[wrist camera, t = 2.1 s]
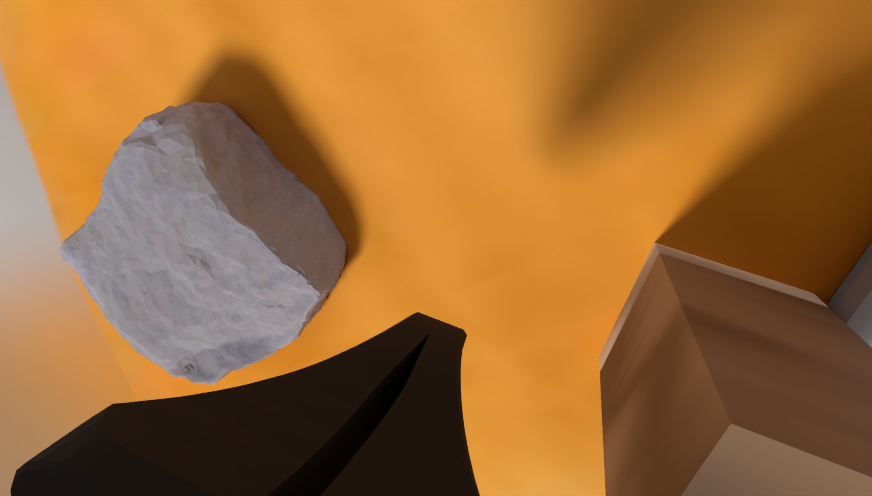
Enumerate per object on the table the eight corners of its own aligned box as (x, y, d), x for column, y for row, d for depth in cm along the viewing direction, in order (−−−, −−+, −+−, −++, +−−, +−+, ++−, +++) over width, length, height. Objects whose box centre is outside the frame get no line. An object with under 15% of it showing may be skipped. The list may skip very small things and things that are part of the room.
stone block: (389, 240, 21) (212, 71, 18) (352, 303, 17) (119, 97, 14) (258, 349, 26) (110, 232, 24) (207, 416, 22) (22, 284, 20)
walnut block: (734, 407, 16) (878, 723, 8) (599, 357, 17) (610, 596, 9) (813, 293, 14) (1105, 566, 6) (654, 242, 15) (731, 423, 7)
